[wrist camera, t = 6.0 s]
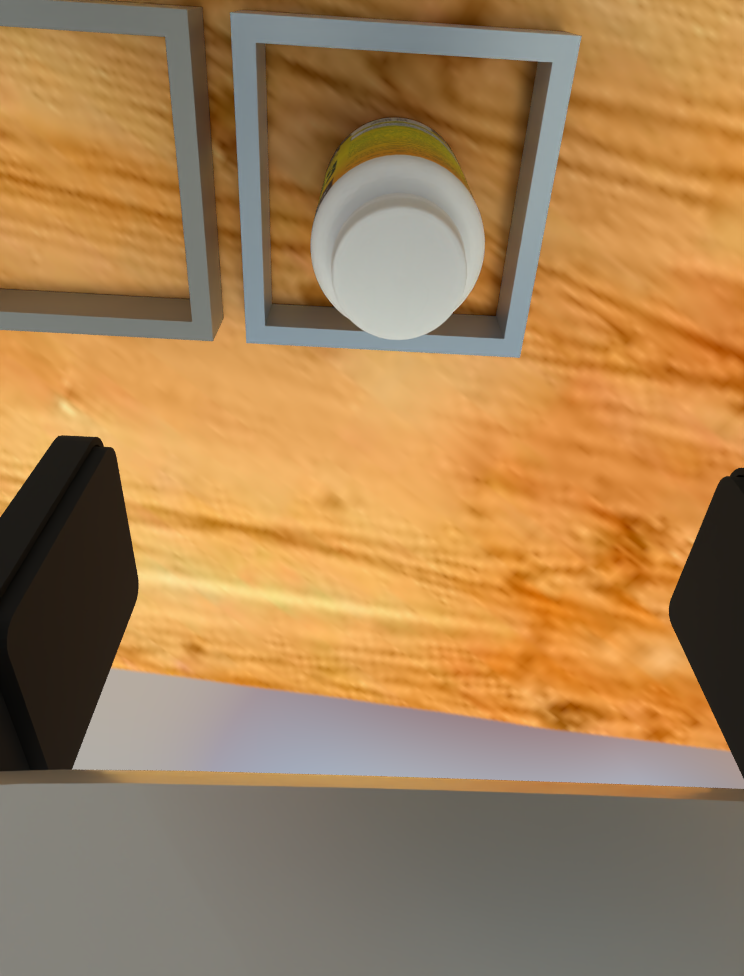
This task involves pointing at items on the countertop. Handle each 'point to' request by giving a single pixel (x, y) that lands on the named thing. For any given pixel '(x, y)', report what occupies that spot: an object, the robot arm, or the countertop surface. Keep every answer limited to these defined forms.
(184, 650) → the countertop surface
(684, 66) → the countertop surface
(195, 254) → the grey open square frame
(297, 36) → the blue-grey square frame
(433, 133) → the supplement bottle
